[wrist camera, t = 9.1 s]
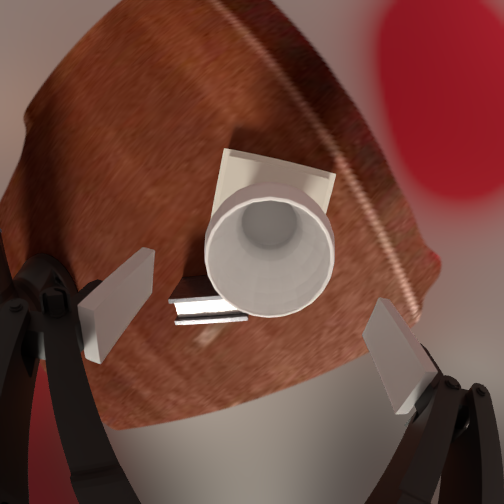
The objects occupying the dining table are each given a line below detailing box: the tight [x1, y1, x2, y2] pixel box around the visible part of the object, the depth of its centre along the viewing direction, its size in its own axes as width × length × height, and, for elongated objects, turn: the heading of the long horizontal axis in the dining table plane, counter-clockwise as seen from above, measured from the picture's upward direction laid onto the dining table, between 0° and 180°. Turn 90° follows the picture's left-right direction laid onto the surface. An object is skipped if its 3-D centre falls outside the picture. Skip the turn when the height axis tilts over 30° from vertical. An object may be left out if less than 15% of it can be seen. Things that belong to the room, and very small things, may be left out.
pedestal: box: [211, 148, 336, 218], centre depth 37 cm, size 14×14×4 cm
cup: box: [204, 181, 335, 318], centre depth 28 cm, size 11×11×15 cm
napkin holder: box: [168, 275, 249, 325], centre depth 39 cm, size 10×4×7 cm, turn 98°
